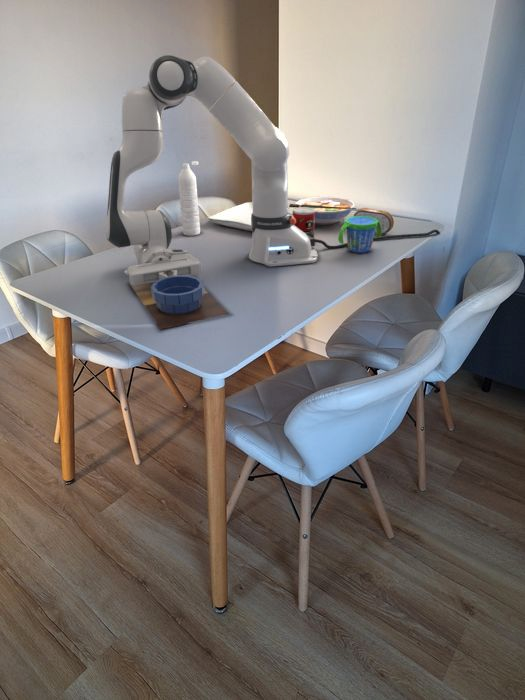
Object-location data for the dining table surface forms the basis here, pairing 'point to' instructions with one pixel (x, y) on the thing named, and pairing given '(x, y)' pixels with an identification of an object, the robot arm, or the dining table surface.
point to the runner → (147, 293)
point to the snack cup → (360, 233)
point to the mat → (204, 311)
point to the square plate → (236, 216)
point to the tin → (378, 218)
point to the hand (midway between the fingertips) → (172, 280)
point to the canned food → (305, 219)
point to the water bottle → (189, 200)
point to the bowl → (178, 293)
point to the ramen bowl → (327, 208)
